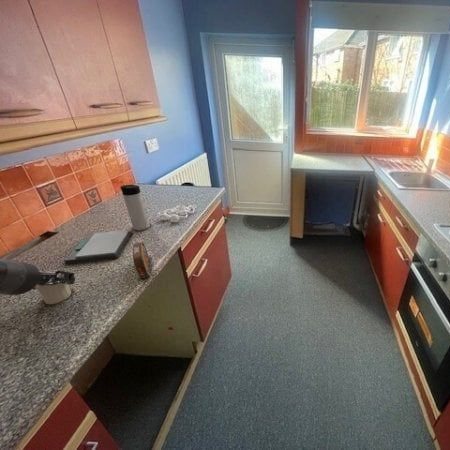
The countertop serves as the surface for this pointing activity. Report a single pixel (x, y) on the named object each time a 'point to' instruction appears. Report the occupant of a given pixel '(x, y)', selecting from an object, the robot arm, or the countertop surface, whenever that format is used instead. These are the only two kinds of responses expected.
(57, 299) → the pot
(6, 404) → the countertop surface
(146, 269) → the tin
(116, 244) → the scale
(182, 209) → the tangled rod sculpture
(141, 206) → the travel mug
